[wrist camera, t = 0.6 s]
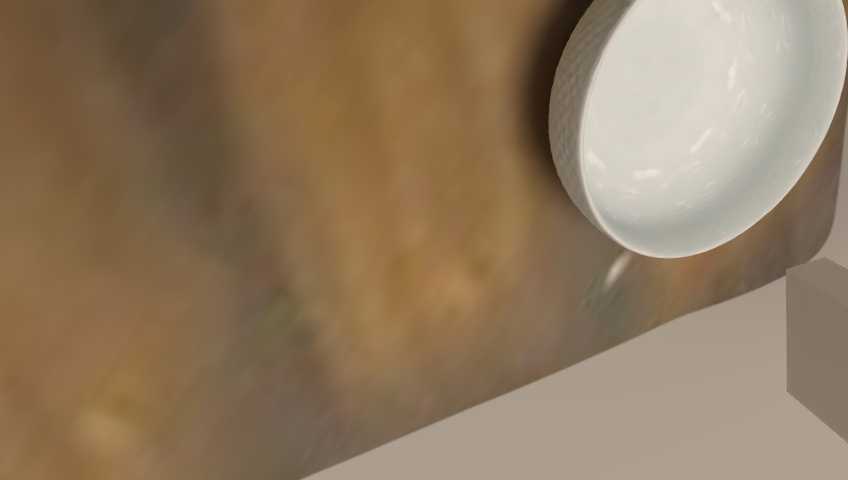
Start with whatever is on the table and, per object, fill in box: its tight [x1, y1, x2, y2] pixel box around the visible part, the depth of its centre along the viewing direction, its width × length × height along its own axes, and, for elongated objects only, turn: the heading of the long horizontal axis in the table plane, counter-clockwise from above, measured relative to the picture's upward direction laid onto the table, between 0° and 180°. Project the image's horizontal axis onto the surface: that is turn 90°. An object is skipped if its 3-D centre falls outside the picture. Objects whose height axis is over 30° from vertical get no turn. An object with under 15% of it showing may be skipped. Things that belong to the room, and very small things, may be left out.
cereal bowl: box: [548, 0, 848, 258], centre depth 37 cm, size 17×17×7 cm
